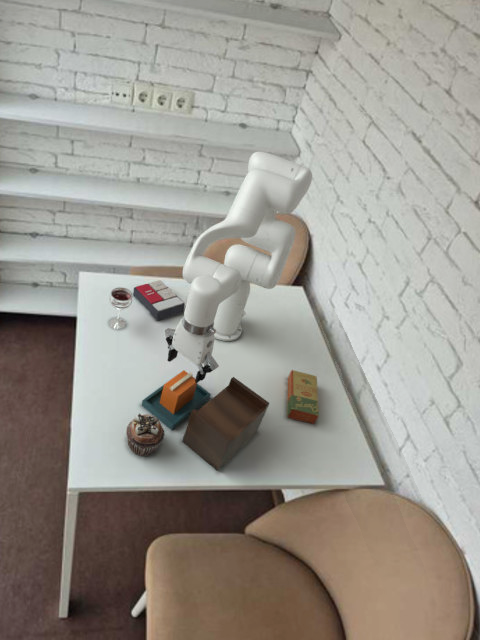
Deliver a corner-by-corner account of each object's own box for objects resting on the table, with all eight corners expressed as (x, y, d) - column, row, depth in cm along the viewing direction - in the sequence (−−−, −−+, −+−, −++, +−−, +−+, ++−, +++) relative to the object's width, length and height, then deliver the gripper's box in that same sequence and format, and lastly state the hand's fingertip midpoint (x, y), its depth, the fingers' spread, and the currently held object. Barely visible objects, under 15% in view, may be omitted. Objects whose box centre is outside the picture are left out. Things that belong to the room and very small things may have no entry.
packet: (178, 388, 153) (184, 367, 148) (192, 398, 151) (198, 378, 146) (159, 403, 147) (164, 382, 142) (173, 414, 145) (178, 393, 140)
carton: (312, 385, 165) (317, 375, 163) (314, 425, 153) (320, 415, 150) (286, 378, 165) (291, 369, 163) (286, 418, 153) (291, 408, 150)
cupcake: (165, 456, 135) (172, 432, 129) (128, 462, 132) (133, 437, 126) (156, 426, 142) (162, 401, 136) (120, 430, 139) (125, 405, 132)
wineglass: (132, 323, 171) (137, 294, 163) (119, 334, 166) (123, 304, 158) (115, 313, 173) (119, 284, 165) (102, 323, 168) (105, 294, 161)
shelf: (222, 406, 152) (233, 376, 144) (256, 432, 147) (269, 402, 139) (182, 441, 140) (191, 411, 132) (217, 471, 135) (229, 441, 127)
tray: (180, 376, 157) (181, 371, 156) (209, 398, 153) (211, 394, 152) (141, 405, 146) (142, 400, 145) (171, 430, 142) (172, 425, 141)
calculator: (160, 278, 186) (185, 302, 177) (159, 288, 188) (183, 312, 180) (133, 285, 180) (158, 310, 171) (132, 295, 182) (156, 321, 174)
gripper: (234, 334, 130) (219, 381, 141) (181, 297, 137) (170, 344, 148) (215, 348, 125) (201, 395, 136) (161, 309, 132) (152, 357, 143)
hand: (185, 369), depth 142 cm, fingers open, 9 cm apart
